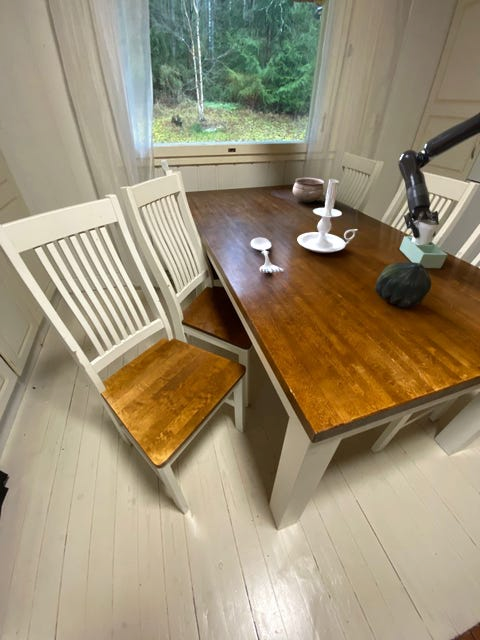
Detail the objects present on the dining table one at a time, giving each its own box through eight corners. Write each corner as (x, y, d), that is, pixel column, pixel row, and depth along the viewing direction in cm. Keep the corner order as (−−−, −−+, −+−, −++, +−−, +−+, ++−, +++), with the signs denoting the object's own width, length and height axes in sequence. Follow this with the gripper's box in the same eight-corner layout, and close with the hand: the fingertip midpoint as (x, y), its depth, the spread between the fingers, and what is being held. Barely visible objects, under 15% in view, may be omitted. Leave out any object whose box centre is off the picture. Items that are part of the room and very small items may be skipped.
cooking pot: (287, 196, 185) (290, 176, 177) (315, 196, 186) (318, 176, 178) (296, 207, 165) (299, 185, 158) (326, 207, 167) (331, 185, 159)
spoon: (259, 278, 99) (259, 270, 97) (249, 242, 124) (249, 235, 122) (283, 278, 100) (284, 269, 98) (268, 242, 125) (269, 235, 123)
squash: (382, 266, 96) (391, 247, 82) (429, 279, 91) (447, 261, 77) (367, 303, 95) (373, 289, 81) (413, 318, 90) (429, 306, 76)
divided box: (420, 249, 121) (425, 236, 117) (440, 268, 107) (447, 254, 104) (399, 248, 121) (404, 236, 117) (417, 267, 108) (423, 254, 104)
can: (424, 254, 113) (438, 226, 105) (407, 250, 115) (419, 222, 108) (425, 249, 117) (438, 221, 109) (408, 245, 120) (420, 218, 112)
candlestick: (360, 258, 113) (383, 185, 95) (300, 258, 113) (313, 184, 95) (344, 239, 129) (362, 173, 111) (292, 238, 129) (302, 172, 111)
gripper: (409, 194, 108) (416, 234, 106) (440, 192, 110) (448, 232, 109) (395, 203, 115) (402, 241, 114) (425, 202, 117) (432, 239, 116)
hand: (424, 237), depth 111 cm, fingers closed on can, 6 cm apart
